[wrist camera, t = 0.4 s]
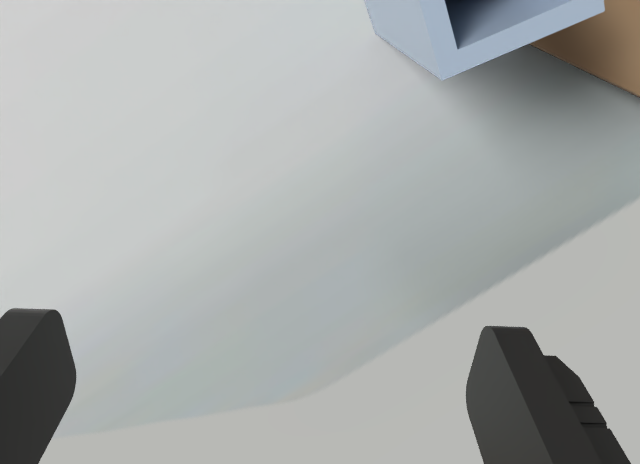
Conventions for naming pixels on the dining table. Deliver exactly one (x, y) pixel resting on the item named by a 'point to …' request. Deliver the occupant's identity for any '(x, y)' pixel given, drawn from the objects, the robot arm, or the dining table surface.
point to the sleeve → (470, 28)
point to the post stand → (602, 44)
